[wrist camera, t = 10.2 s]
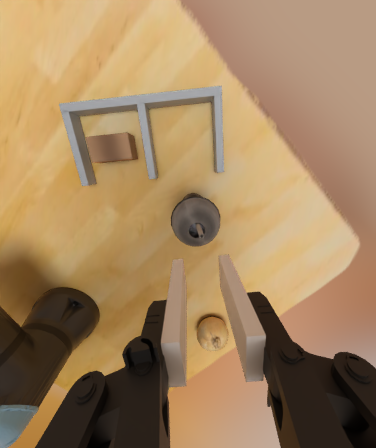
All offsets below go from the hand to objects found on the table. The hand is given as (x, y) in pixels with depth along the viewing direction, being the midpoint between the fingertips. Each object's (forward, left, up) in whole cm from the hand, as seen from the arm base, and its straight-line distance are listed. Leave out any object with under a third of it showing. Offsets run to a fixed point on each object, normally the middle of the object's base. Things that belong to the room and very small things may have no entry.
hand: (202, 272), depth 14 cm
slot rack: (-7, +12, -25) cm, 28 cm away
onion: (+2, -33, -25) cm, 41 cm away
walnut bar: (-13, +12, -25) cm, 30 cm away
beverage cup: (0, 0, -25) cm, 25 cm away
